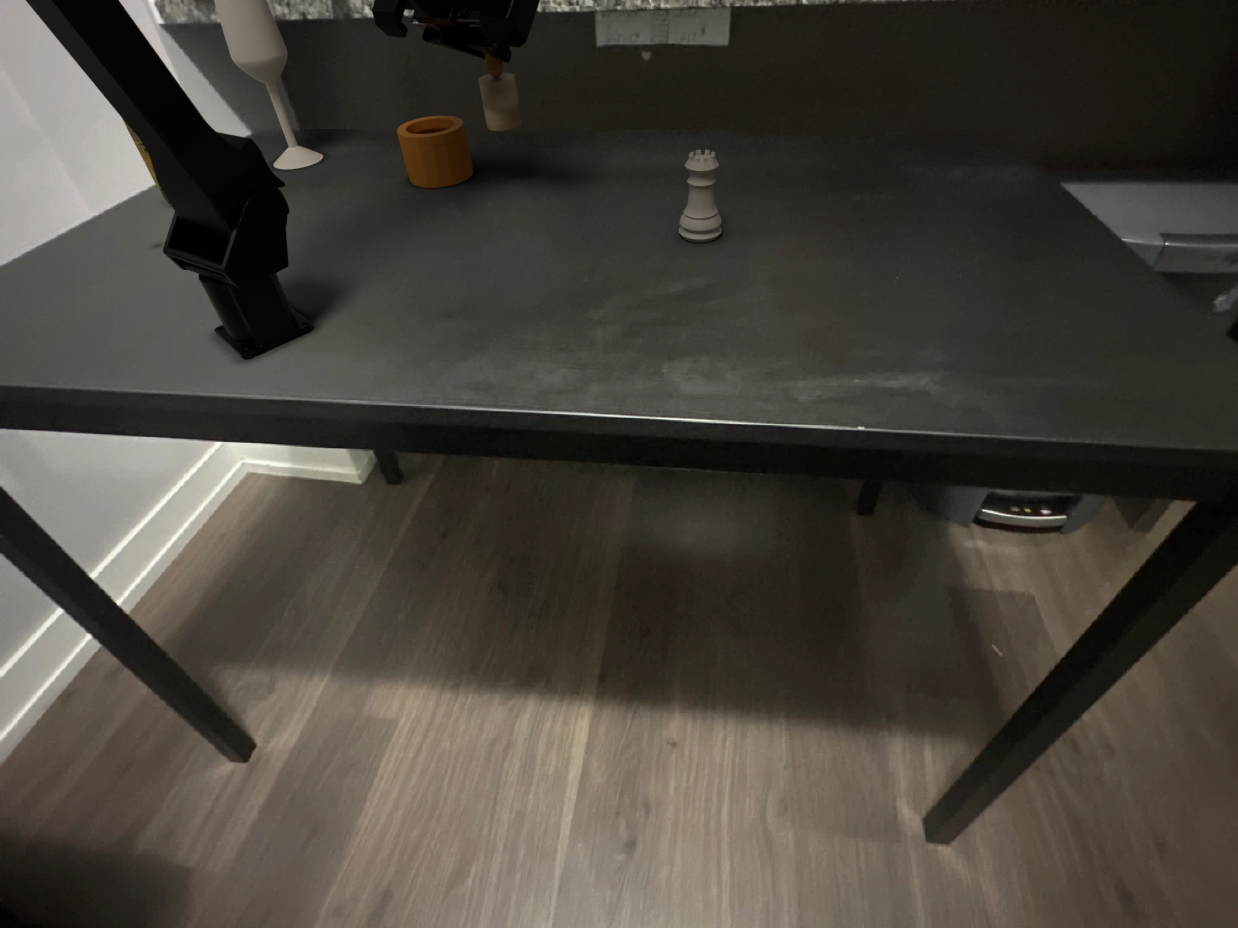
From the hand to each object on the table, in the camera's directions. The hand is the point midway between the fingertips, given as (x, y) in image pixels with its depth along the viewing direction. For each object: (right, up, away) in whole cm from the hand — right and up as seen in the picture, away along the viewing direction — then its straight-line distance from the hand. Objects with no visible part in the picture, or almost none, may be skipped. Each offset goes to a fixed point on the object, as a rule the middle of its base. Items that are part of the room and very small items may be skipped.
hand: (501, 57), depth 75 cm
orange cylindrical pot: (-10, -8, +13) cm, 18 cm away
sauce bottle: (-42, -11, +12) cm, 45 cm away
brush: (0, -6, +4) cm, 7 cm away
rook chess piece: (+21, -21, -4) cm, 30 cm away
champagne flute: (-32, -2, +20) cm, 38 cm away
